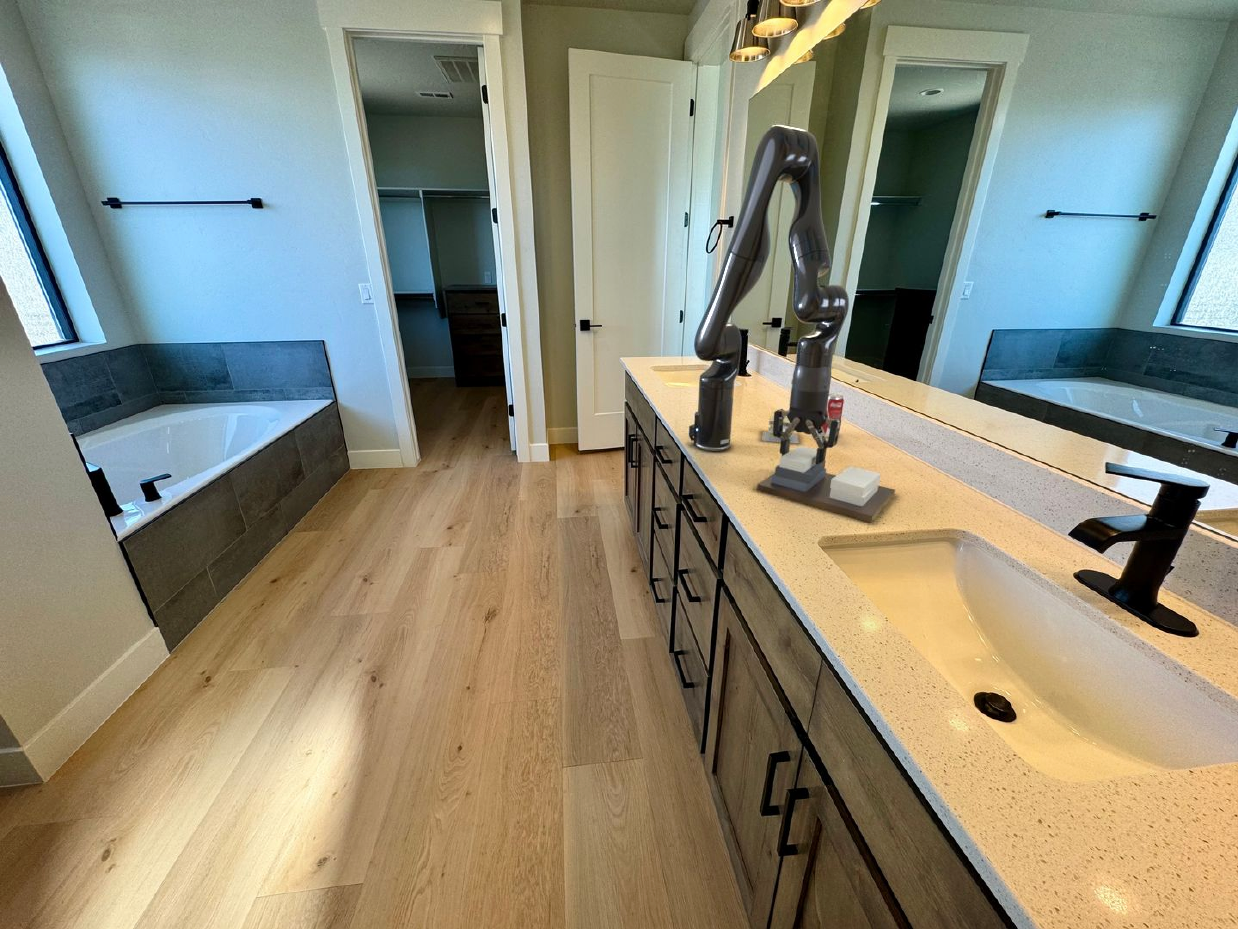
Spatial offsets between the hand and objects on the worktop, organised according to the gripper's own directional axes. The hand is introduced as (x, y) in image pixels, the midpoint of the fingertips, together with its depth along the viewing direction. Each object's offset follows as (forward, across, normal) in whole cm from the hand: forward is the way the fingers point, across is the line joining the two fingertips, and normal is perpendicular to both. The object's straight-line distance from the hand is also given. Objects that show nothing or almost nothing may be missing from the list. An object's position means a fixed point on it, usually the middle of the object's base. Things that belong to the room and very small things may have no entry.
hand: (801, 459), depth 109 cm
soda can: (+7, +8, -41) cm, 42 cm away
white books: (+5, -12, 0) cm, 13 cm away
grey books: (+5, 0, 0) cm, 5 cm away
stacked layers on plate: (+7, +18, -30) cm, 36 cm away
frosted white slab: (+1, 0, 0) cm, 1 cm away
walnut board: (+6, -6, 0) cm, 9 cm away
